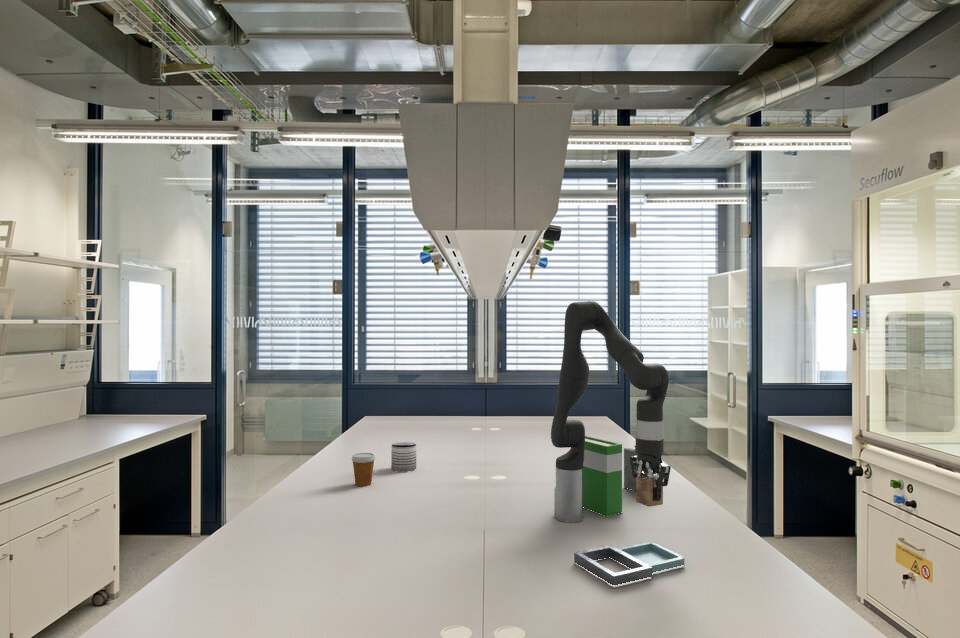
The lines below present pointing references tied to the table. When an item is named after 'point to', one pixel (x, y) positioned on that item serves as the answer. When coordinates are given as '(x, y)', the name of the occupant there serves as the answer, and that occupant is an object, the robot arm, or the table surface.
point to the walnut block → (646, 491)
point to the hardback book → (602, 476)
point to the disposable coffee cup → (363, 468)
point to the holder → (637, 567)
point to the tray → (654, 556)
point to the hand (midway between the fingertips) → (649, 497)
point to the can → (403, 457)
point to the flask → (629, 469)
